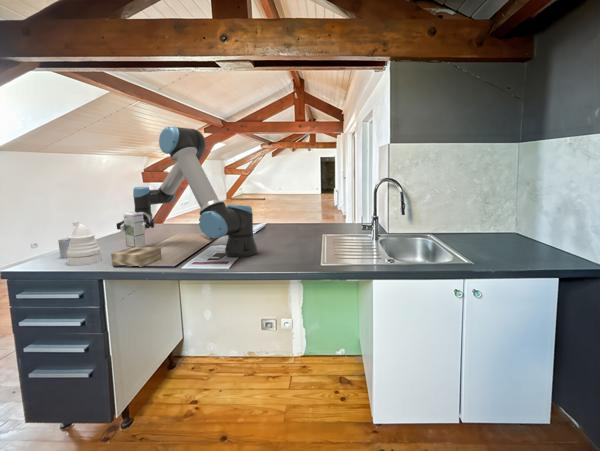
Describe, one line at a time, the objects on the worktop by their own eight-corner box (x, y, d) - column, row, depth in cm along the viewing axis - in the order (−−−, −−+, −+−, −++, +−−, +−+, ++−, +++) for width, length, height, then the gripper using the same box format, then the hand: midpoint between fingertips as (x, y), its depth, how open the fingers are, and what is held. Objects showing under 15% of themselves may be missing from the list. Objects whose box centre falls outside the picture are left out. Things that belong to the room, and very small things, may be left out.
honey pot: (66, 267, 150) (61, 224, 147) (69, 260, 161) (64, 220, 158) (101, 262, 155) (96, 222, 152) (102, 256, 167) (97, 218, 164)
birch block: (161, 258, 161) (160, 247, 160) (140, 267, 148) (139, 255, 147) (135, 257, 164) (134, 246, 164) (112, 265, 151) (111, 253, 150)
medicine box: (68, 258, 164) (66, 239, 163) (60, 258, 165) (57, 239, 164) (81, 254, 172) (79, 236, 170) (73, 253, 173) (71, 236, 171)
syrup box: (146, 245, 157) (143, 212, 154) (135, 247, 151) (132, 214, 149) (137, 244, 159) (134, 211, 156) (125, 246, 154) (122, 213, 151)
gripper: (164, 227, 174) (159, 235, 152) (117, 229, 169) (106, 238, 147) (162, 212, 173) (157, 218, 151) (116, 213, 167) (104, 220, 146)
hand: (132, 228), depth 149 cm, fingers closed on syrup box, 8 cm apart
